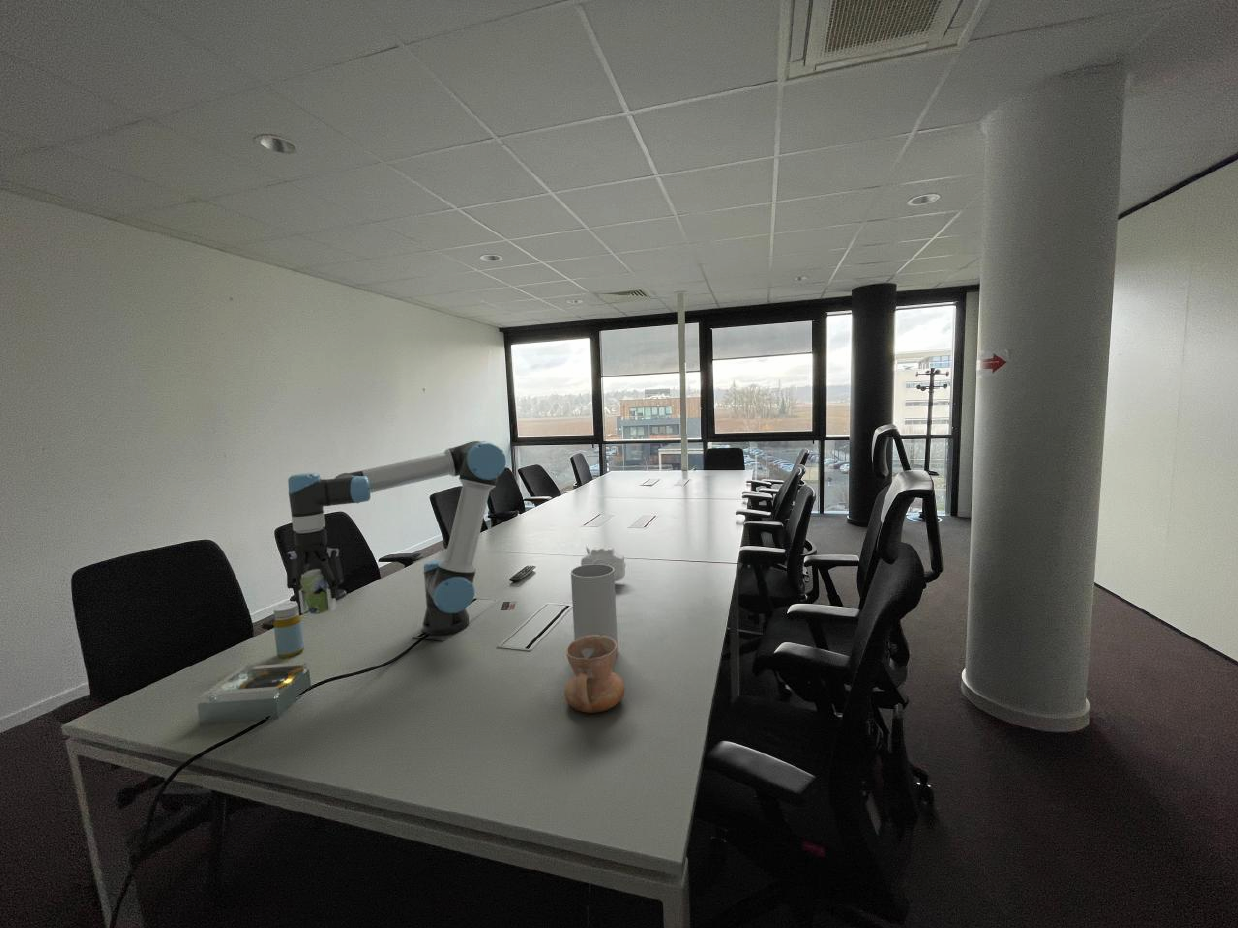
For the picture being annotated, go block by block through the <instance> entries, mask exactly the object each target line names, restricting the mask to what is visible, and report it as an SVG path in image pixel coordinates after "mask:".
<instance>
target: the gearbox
mask: <svg viewBox="0 0 1238 928" xmlns="http://www.w3.org/2000/svg"><path fill="white" fill-rule="evenodd" d="M250 670H251V672H250V673H248V667H247V666H240V667H239V668H237V669H236V670H234V671H233V672H231V673H230V674H229V675H227V676H225V677H224V678H223V679H222V680H221V681H219V682H217V683H216V684H214V686H212V687H211V688H209V689H207V690H206V691H205V692H203V693H202V694H201V695H200V702H199V703H197V710H198V717H199V724H200V725H209V724H222V723H224V724H225V723H232V722H233V723H234V722H237V723H238V722H247V721H248V722H249V721H260V720H262V719H263V720H265V719H264V718H266V717H268V716H270V717H269V718H268V719H267V720H269V719H270V720H274V719H279V718H280V717H282V716H283V715H284V713H286V712H287V711H288V710H289V709H290V708H291V707H292V706H293V705H294V704H295V703H296V702H297V701H298V700H299V699H300V698H301V697H302V696H303V695H301V696H298V695H299V694H301V693H302V692H303V691H305V690H306V689H308V688H309V687H310V686H311V687H312V685H311V684H312V683H311V674H310V669H309V668H307V662H294V663H293V662H292V663H281V664H280V663H279V664H268V665H267V664H265V665H255V666H253V667H252V668H251V669H250ZM311 687H310V688H311ZM310 688H309V689H310ZM309 689H308V690H309ZM296 696H298V698H296Z"/></svg>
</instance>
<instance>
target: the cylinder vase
mask: <svg viewBox="0 0 1238 928" xmlns="http://www.w3.org/2000/svg"><path fill="white" fill-rule="evenodd" d="M570 582H571V584H570V585H571V600H572V619H573V637H574V640H577V639H579V638H582V637H585V636H591V635H599V636H600V637H602V636H606V637H610V638H612V639H614V640H615V641H616V643H617V654H616V656H617V655H618V653H619V641H618V639H619V638H618V621H617V620H618V619H617V597H616V581H615V574H614V568H613V567H612V566H609V565H604V564H589V565H583V566H581V565H579V566H576V567H574V568H572V569H571V570H570ZM574 640H573V641H574ZM594 650H595V649H589V648H586V649H583V650H582V653H583V656H584V657H585V658H587V659H588V658H589V657H590V655H591V653H592V652H593V651H594Z"/></svg>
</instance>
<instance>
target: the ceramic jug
mask: <svg viewBox="0 0 1238 928" xmlns="http://www.w3.org/2000/svg"><path fill="white" fill-rule="evenodd" d="M586 648H589V649H595V650H594V651H593V652H592V653H591V655H590V657H589V658H588V659H587V658H585V657H584V656H583V653H582V650H583V649H586ZM565 652H566V657H567V660H568V663H569V665H570V668H571V669H572V671H573V673H574V676H572V677H571V679H570V680H568V682H567V684H566V685H565V689H564V697H565V700H566V702H567V703H568V705H569V706H570V707H571V708H573V709H574V710H575V711H578V712H582V713H586V714H588V713H589V714H594V713H595V714H596V713H603V712H606V711H607V710H610V709H613V708H614V707H615V706H617V705H618V704H619V703H620V702H621V700H622V698H623V697H624V694H625V690H626V688H625V684H624V680H623V679H622V678H621V676H620V675H619V674H617V673H616V672H614V671H613V669H614V666H615V663H616V658H617V655H618V653H617V643H616V641H615V640H614V639H612V638H610V637H606V636H602V637H600V636H599V635H591V636H585V637H582V638H579V639H577V640H572V641H571V642H570V643H569V644H568V645H567V647H566V650H565ZM616 654H617V655H616Z"/></svg>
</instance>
